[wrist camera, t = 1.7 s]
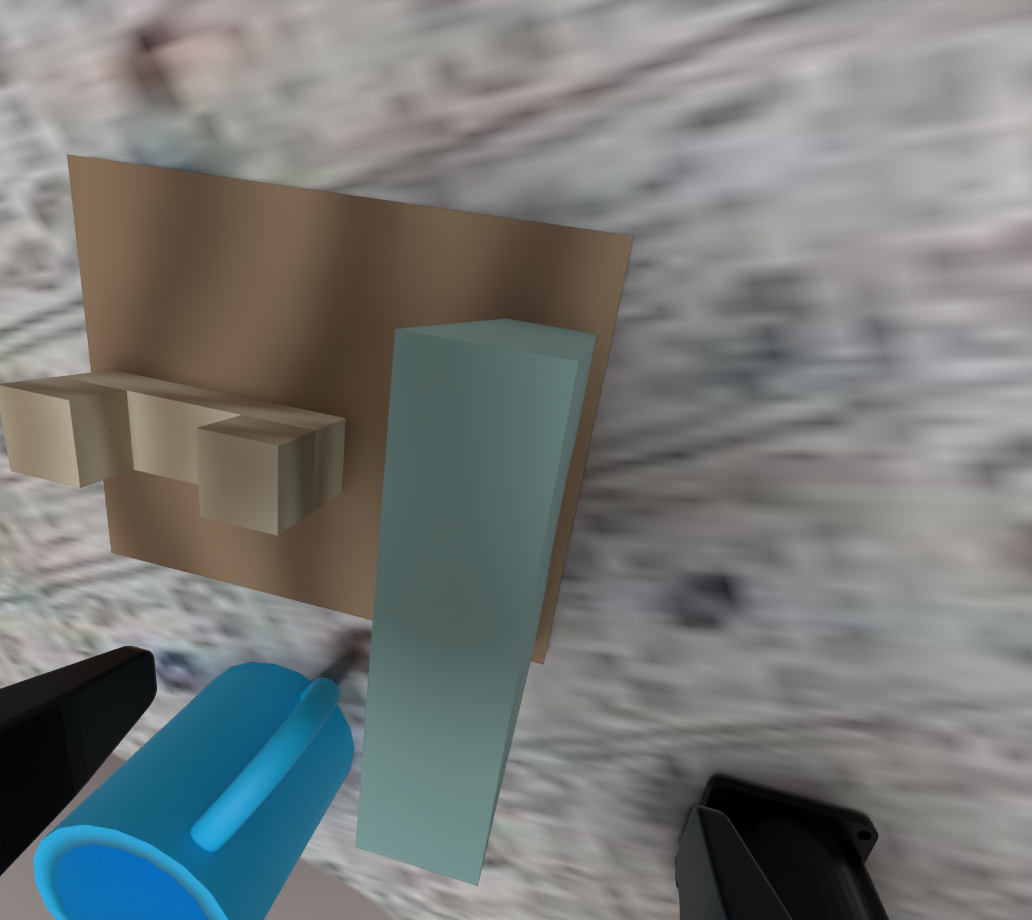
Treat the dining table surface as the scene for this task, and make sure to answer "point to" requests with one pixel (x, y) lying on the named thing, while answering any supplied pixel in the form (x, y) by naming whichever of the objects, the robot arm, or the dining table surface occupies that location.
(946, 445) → the dining table surface
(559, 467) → the teal block
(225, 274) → the board
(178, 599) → the dining table surface
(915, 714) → the dining table surface
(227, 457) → the cream handle bar
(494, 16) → the dining table surface
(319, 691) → the mug
